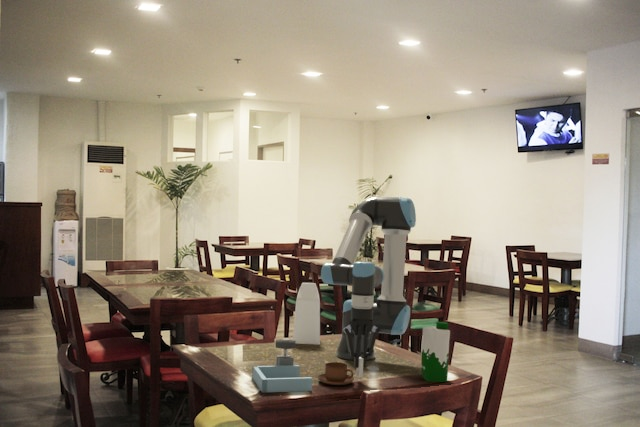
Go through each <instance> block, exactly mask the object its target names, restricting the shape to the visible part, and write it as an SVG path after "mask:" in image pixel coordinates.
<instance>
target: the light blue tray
mask: <svg viewBox="0 0 640 427" xmlns="http://www.w3.org/2000/svg"><path fill="white" fill-rule="evenodd" d="M275 358H276V361H275V365H253V366H252V371H251V372H252V373H251V374H252V376H251V378H252V380H253V381H254V383H255V384H256V386H257V387H258V389H259V391H261V393H263V394H264V393H285V392H286V393H287V392H288V393H289V392H293V393H294V392H312V391H313V377H312V376H311V377H310V376H304V377H303V376H302V377H300V370H301V368H300V367H301V366H300V365H299V364H294V357H292V355H291V354H288V355H286V356H284V354H283V355H282V354H281V355H280V354H279V355H276V357H275Z"/></svg>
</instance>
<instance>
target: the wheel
mask: <svg viewBox="0 0 640 427" xmlns="http://www.w3.org/2000/svg"><path fill="white" fill-rule="evenodd" d="M296 344H297V343H296V341H295V340H293V339H289V338H280V339H276V340H275V348H277V349H283V355H284V356H286V355H287V350H292V349H293V350H294V349H295V348H296Z"/></svg>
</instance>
